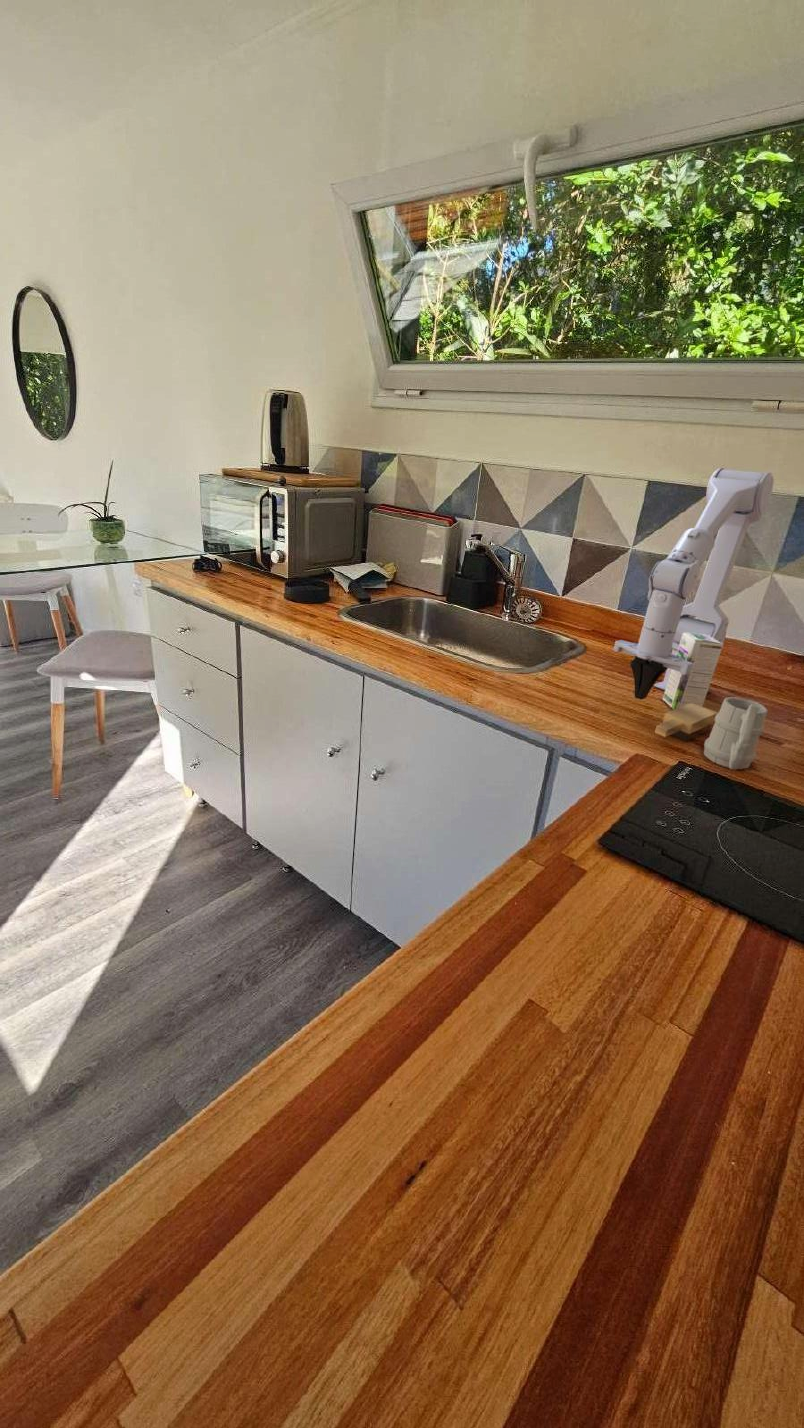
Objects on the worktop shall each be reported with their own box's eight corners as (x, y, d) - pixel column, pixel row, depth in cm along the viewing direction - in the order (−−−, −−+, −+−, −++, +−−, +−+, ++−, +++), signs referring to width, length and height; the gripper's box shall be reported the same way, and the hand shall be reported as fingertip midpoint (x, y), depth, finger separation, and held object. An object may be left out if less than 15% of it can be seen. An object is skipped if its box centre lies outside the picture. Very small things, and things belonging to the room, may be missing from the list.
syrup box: (661, 699, 122) (681, 631, 116) (689, 701, 122) (710, 633, 116) (672, 710, 117) (694, 639, 111) (702, 713, 117) (725, 642, 111)
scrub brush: (686, 719, 113) (691, 702, 112) (712, 730, 110) (718, 712, 108) (643, 738, 104) (649, 719, 102) (670, 749, 100) (676, 730, 99)
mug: (748, 754, 101) (773, 689, 96) (758, 786, 91) (786, 715, 86) (700, 743, 104) (721, 679, 99) (704, 773, 93) (728, 703, 89)
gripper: (612, 620, 110) (595, 688, 116) (687, 642, 100) (665, 715, 106) (632, 616, 114) (615, 682, 120) (706, 637, 105) (684, 708, 110)
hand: (640, 697), depth 113 cm, fingers closed
